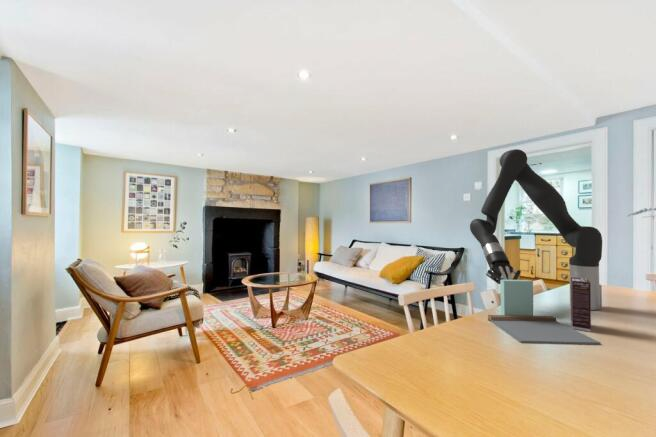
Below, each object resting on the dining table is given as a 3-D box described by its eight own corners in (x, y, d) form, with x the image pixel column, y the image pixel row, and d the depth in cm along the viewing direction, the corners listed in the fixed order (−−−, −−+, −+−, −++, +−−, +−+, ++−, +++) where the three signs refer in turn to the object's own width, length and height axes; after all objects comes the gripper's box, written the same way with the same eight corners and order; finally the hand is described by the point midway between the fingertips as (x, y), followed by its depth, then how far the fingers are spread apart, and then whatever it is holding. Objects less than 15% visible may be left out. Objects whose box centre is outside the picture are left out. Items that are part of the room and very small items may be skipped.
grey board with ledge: (488, 319, 105) (488, 314, 105) (552, 321, 104) (552, 315, 104) (520, 342, 85) (520, 336, 85) (600, 344, 84) (600, 338, 84)
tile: (500, 317, 108) (500, 279, 108) (529, 318, 107) (528, 279, 107) (504, 319, 105) (503, 280, 105) (533, 320, 105) (532, 281, 105)
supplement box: (591, 332, 93) (591, 282, 93) (572, 329, 96) (571, 280, 96) (588, 324, 100) (588, 278, 100) (570, 321, 103) (569, 276, 103)
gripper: (481, 250, 119) (497, 286, 107) (515, 250, 118) (535, 287, 106) (476, 261, 125) (490, 297, 112) (508, 261, 124) (526, 298, 111)
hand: (512, 292), depth 109 cm, fingers closed
